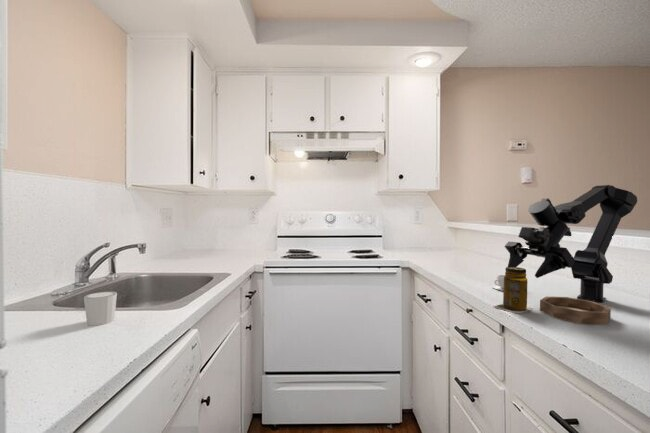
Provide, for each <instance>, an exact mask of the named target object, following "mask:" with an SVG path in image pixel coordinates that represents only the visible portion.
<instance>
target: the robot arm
mask: <svg viewBox="0 0 650 433" xmlns="http://www.w3.org/2000/svg"><path fill="white" fill-rule="evenodd" d="M637 203H638V197H637V195H636V194H634V193H633V192H632V191H629V190H626V189H621V188H619V187H615V186H614V185H611V184H603V185H602V184H601V185H595V186H593V187H592V188H591V189H590V190H588V191H587V192H585V193H583V194H581V195H580V196H579V197H577V198H575V199H573V200H572V201H570V202H564V203H560V204H557V205H555V206H554V205H553V203H552V201H551V200H550V198H549V197H548V198H542V199H541V200H539V201H537V202H534V203H533V204H530V205H529V207H528V213H529V214H530V215H531V216H532V218H533V219H534V220H535V222H536V224H537V225H539V226H540V227H539V228H537V227H536V228H535V227H531V226H530V227H529V226H522V227H521V229H520V230H519V233H518V238H521V239H523V240H524V241H525V242H524V243H525V245H526V246H528V247H525V246H523V244H522V243H521V242H520V241H519V242H518V241H507V242H506V243H505V245H504V248H505V249H506V250H507V251H508V253H509V260H508V263H507V264H508V265H507V267H519V265H521V264H522V263H523V262H524V261H525V260H524V259H526V258H527V257H528V255H530V256H535V257H537V258H538V257H539V258H544V260H543V262H542V263H541V265H539V267H538V269H537V270H536V272H535V274H534V276H535V278H536V279H539V278H541V277H543V276H546V275H548V274H551V273H553V272H556V271H558V270H559V271H560V270H561V269H563V270H565V269H566V268H570V269H571V272H572V273H571V274H572V278H573V279H578V280H580V290H579V292H580V293H579V295H577V296H576V299H581V300H587V301H592V302H596V303H604V302H605V301H606V300H607V297H604V286H605V285H606V284H607V285H610V284H611V283H612V282H613V278H614V276H613V275H612V273H611V271H609V269H608V264H609V263H608V261H607V258H606V253H607V251H608V249H609V246H610V244H611V242H612V239H613V238H612V236H613V237H614V235H615V234H616V231H617V228H618V226H619V224H620V222H621V219H623V218H624V217H625V216H627V215H629V214H631V213H632V211H633V209H634V208H635V206H636V205H637ZM597 205H599V208H600V210H601V212H602V213H601V216H600V217H599V220H598V222H597V225H596V226H595V229H594V230H593V233H592V235H591V237H590V239H589V241H588V243H587V246H586V248H585V249H583V250H581V249H577V250H576V251H575V253H574V256H573V255H572V254H571V252H570V251H569V249H568V248H567V247H562V246H561V245H560V242H561V241H562V240H563V237H572V231H571V228H570V227H569V226H568V225H577V224H580V223H581V222H582V220H584V219H585V218H586V213H587V212H588V211H590V210H591V209H592V208H594V207H595V206H597ZM567 224H568V225H567ZM604 284H605V285H604Z"/></svg>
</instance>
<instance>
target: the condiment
mask: <svg viewBox="0 0 650 433" xmlns="http://www.w3.org/2000/svg"><path fill="white" fill-rule="evenodd" d="M504 275H505V276H504V291H502V292H503V295H502V296H503V298H502V299H503V300H502V301H503V302H502V303H501V304H498V305H494V306H493V308H496V309H499V310H503V311H506V312H509V313H510V312H511V313H514V314H518V315H520V314H523V313H526V312H529V311H532V310H533V308H531V307H528V278H527V269H526V268H523V267H519V266H517V267H508V266H507V267H505V272H504Z"/></svg>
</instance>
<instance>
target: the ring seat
mask: <svg viewBox="0 0 650 433" xmlns="http://www.w3.org/2000/svg"><path fill="white" fill-rule="evenodd" d="M539 311H540V312H543V313H544V314H546V315H548V316H550V317H551V318H556V319H558V320H564V321H568V322H572V323H577V324H581V325H582V324H583V325H604V326H605V325H608V324H609V322H610V321H611V317H612V316H611V315H612V314H611V313H612V312H611V311H612V308H611V307H608V306H607V305H604V304H600V303H599V302H596V301H590V300H585V299H579V298H575V297H569V296H545V297H542V299H539Z"/></svg>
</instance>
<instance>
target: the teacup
mask: <svg viewBox="0 0 650 433" xmlns="http://www.w3.org/2000/svg"><path fill="white" fill-rule="evenodd" d="M504 276H505V274H499V275H496V278H495V279H494V281H493V282H494V285H492V288H493V289H495V290H498V291H501V292H504Z"/></svg>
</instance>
